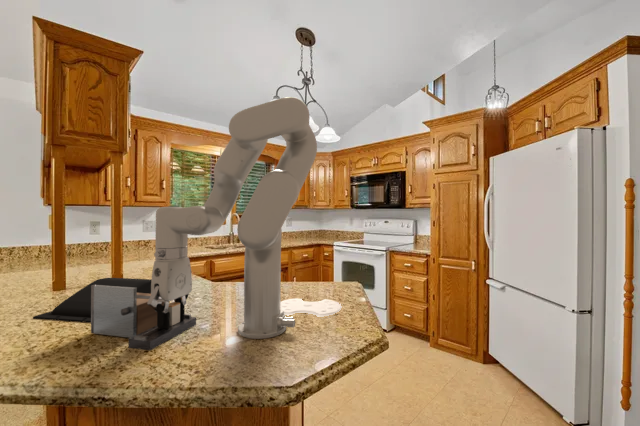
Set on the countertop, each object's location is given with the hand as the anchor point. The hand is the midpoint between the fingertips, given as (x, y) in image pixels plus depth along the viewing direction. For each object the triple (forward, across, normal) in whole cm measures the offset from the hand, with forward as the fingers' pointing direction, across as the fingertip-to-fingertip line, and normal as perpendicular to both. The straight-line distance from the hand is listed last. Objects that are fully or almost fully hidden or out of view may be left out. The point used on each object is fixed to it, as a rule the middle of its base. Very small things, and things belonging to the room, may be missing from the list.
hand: (171, 323), depth 77 cm
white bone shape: (+3, +28, -29) cm, 41 cm away
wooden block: (+2, 0, +12) cm, 12 cm away
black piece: (+3, +14, +36) cm, 39 cm away
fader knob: (0, 0, 0) cm, 0 cm away
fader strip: (+2, -2, 0) cm, 3 cm away
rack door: (+2, -7, +12) cm, 14 cm away
